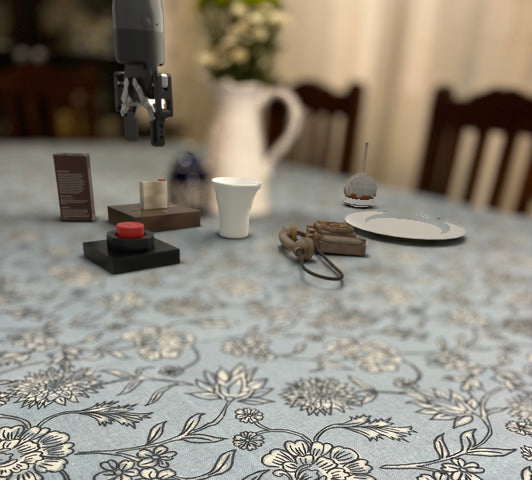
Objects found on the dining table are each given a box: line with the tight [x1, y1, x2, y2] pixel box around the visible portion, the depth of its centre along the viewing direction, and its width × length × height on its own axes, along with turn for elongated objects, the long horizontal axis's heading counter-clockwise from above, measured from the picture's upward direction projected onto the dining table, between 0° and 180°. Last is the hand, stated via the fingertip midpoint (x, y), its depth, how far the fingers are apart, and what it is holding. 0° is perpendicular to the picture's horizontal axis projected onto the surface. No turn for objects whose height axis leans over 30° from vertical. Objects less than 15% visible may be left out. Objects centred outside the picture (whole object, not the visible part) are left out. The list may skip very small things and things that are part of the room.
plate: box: [344, 210, 467, 243], centre depth 108 cm, size 25×25×2 cm
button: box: [115, 222, 144, 238], centre depth 77 cm, size 4×4×2 cm
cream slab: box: [138, 178, 168, 210], centre depth 98 cm, size 5×2×5 cm, turn 129°
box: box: [52, 152, 96, 222], centre depth 98 cm, size 6×4×12 cm
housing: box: [82, 228, 181, 275], centre depth 79 cm, size 11×10×4 cm
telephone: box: [278, 220, 367, 282], centre depth 87 cm, size 15×33×4 cm, turn 5°
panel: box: [106, 200, 201, 233], centre depth 100 cm, size 14×11×3 cm
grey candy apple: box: [342, 141, 378, 207], centre depth 128 cm, size 8×8×15 cm
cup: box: [211, 176, 262, 239], centre depth 95 cm, size 9×9×10 cm
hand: (144, 143), depth 86 cm, fingers open, 8 cm apart
